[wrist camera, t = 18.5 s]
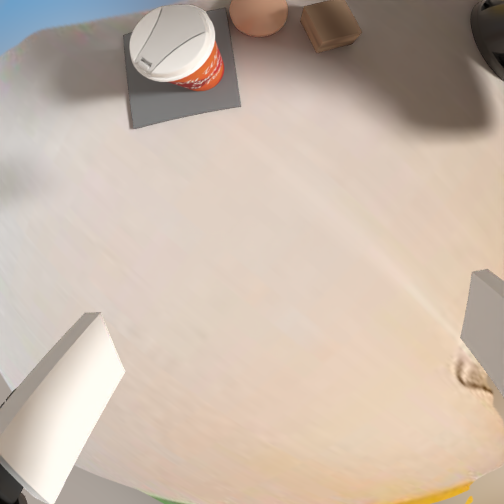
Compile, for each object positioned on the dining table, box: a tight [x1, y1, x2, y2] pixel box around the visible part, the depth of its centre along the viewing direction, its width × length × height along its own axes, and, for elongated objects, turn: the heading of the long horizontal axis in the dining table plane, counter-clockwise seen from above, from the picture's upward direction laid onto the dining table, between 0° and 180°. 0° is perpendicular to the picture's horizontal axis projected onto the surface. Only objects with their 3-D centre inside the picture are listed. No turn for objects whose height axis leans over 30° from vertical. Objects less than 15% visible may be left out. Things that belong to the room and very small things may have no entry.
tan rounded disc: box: [229, 0, 288, 37], centre depth 30 cm, size 7×7×2 cm
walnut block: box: [300, 0, 362, 53], centre depth 29 cm, size 5×5×5 cm
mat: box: [123, 8, 241, 129], centre depth 34 cm, size 14×14×1 cm
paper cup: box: [129, 4, 224, 91], centre depth 27 cm, size 8×8×14 cm
